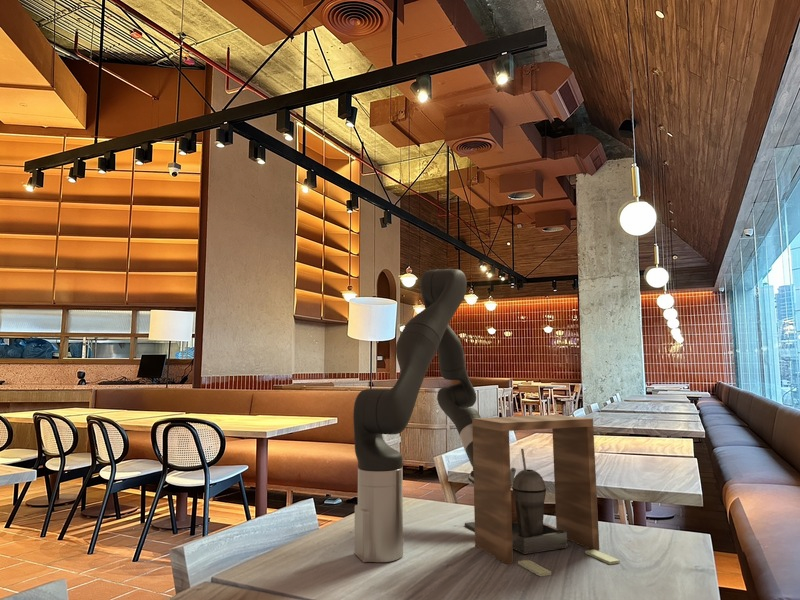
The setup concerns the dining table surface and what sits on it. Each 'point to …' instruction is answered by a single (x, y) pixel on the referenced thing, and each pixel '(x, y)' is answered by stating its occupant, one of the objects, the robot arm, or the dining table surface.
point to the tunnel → (569, 476)
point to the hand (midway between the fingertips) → (507, 506)
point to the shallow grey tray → (536, 536)
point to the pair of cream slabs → (543, 572)
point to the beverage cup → (529, 501)
